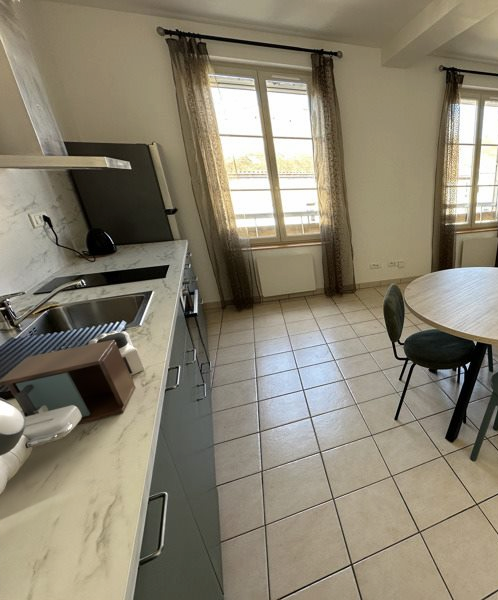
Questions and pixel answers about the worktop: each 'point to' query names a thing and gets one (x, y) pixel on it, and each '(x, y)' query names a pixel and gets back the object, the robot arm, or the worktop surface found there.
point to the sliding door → (50, 393)
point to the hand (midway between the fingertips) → (34, 410)
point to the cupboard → (83, 376)
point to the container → (125, 352)
